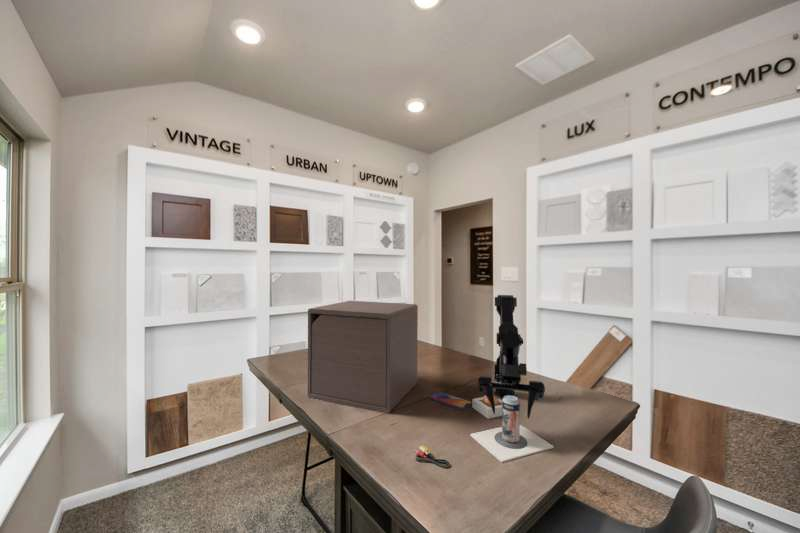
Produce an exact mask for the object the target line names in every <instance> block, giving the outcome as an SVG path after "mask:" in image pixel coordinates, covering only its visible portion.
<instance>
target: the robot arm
mask: <svg viewBox="0 0 800 533" xmlns="http://www.w3.org/2000/svg"><path fill="white" fill-rule="evenodd" d="M517 300H518V298H517V297H514V295H510V294H509V295H508V294H497V296H495V297H494V307H496V308H495V309H496V313H497V314H498V316H499V322H500V323H499V326H498V332H496V335H495V336H496V338H495V339H496V345H498V347H500V348H499V355H498V357H497V358H496V360H495V362H496V363H495V364H494V370H493V371H494V373H493V375H494V376H493V378H494V381H493V380H492V376H488V375H487V376H486V375H479V376H478V377H477V387H478V390H477V391H479V393H480V392H481V393H482V395H484V396H485V395H486V396H487V398H488V400H489V402H490V405H491V408H492V411H493V414H495V404H494V396H495V395H497V396H498V397H499V398H501V399H503V398H504V396H506V395H512V396H515V397H517V398H518V395H517V393H515V391H516V392H517V391H519V392H525V393H526V392H528V396H527V406H526V417H527V420H528V419H530V416H531V412H532V409H533V405H534V404H535V401H539V399H544V396H545V392H546V387H545V384H544V382H543V381H540V380H539V381H537V380H529V381H528V384H526V383H525V384H523V383H521V380H522V378H521V376H526V375H527V371H528V370H527V364H526V363H521V362H520V360H519V354H520V349H521V346H522V345H523V344H524V339H523V337H522V336H521V334H519V328H518V327H517V326H516V325H515V324H514V323H515V322H514V312H515V308H517V307H518V306H517V305H518V302H517ZM519 362H520V363H519ZM494 389H495V391H494ZM494 394H495V395H494Z"/></svg>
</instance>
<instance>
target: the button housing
mask: <svg viewBox="0 0 800 533" xmlns="http://www.w3.org/2000/svg"><path fill="white" fill-rule="evenodd" d="M483 397H484V396H481V397H475V398H472V401H471V402H472V405H471V406H472V408H473V409H474V410H475V411H477V412H478V413H479V414H480V415H482V416H483V417H485V418H487V419H488V420H489V419H494V418H498V417H499V418H500V417H502V400H501V399H500V398H498V405H497V406H495V414H493V411H492V408H491V407H490V406H487V405H485V404H484V403H483Z"/></svg>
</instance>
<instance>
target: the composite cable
mask: <svg viewBox="0 0 800 533" xmlns="http://www.w3.org/2000/svg"><path fill="white" fill-rule="evenodd" d="M417 447H418V450H416V449H414V450H413V451H414V452H415V454H416V455H415V461H418V462H422V463H423V462H424V463H429V464H433V465H435V466H438V467H440V468H442V469H448V468H450V466H451V465H450V462H449V461H448V460H446V459H442V458H439V459H438V458H434V456H433V454H432V453H431V452H430V449H429V448H428V447H427V446H426V445H417Z"/></svg>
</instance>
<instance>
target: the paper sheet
mask: <svg viewBox="0 0 800 533" xmlns="http://www.w3.org/2000/svg"><path fill="white" fill-rule="evenodd" d="M469 436H471V438H473V439H474V440H475V441H476V442H477V443H479V444H480V445H481V446H482V447H483V448H484V449H486V451H488V452H489V453H490V454H491V455H493V457H495V458H496V459H497V460H498V461H499V462H500V463H505V462H508V461H512V460H516V459H519V458H522V457H526V456H530V455H532V454H533V455H534V454H537V453H540V452H543V451H547V450H550V449H555V447H554V446H555V445H553V444H550V442H548V441H547V440H545V439H544V438H542V437H540V436H538V435H537V434H535V433H534V432H532V431H531V430H529V429H528V428H526V427H524V426H523V425H521V424H520V439H519V441H518V442H515V443H511V442H508V441H506V440H504V439H503V438H502V426H500V427H495V428H491V429H487V430H482V431H478V432H474V433H473V432H472V433H470V435H469Z"/></svg>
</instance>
